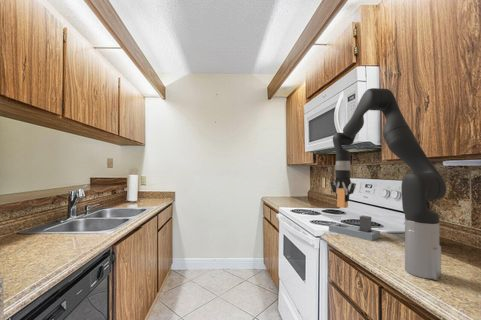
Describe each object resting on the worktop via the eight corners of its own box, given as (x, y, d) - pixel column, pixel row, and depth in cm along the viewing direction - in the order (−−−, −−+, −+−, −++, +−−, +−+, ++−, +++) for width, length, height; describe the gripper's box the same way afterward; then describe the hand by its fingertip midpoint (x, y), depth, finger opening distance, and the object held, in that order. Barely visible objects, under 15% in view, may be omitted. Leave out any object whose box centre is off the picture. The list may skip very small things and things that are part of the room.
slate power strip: (380, 237, 122) (380, 217, 122) (371, 240, 116) (371, 219, 116) (338, 228, 139) (338, 210, 139) (328, 230, 132) (329, 212, 133)
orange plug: (347, 207, 132) (348, 188, 132) (344, 208, 129) (344, 189, 130) (340, 206, 135) (340, 188, 135) (337, 206, 132) (337, 188, 133)
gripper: (327, 169, 136) (326, 200, 135) (352, 169, 125) (352, 203, 124) (334, 169, 140) (333, 199, 140) (359, 169, 130) (359, 202, 129)
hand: (342, 201), depth 132 cm, fingers closed on orange plug, 4 cm apart
